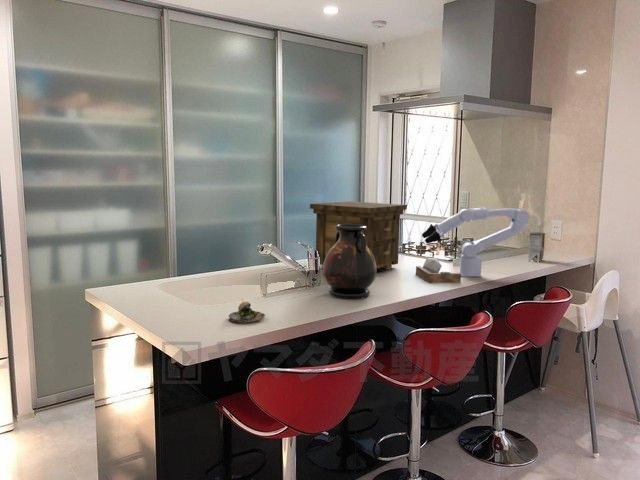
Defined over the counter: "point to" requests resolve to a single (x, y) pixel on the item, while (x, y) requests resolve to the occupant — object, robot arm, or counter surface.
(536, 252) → the coffee box
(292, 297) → the counter surface
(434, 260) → the grey rock
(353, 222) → the crate
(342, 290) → the amphora vase
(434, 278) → the arena
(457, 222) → the robot arm
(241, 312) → the mossy rock
